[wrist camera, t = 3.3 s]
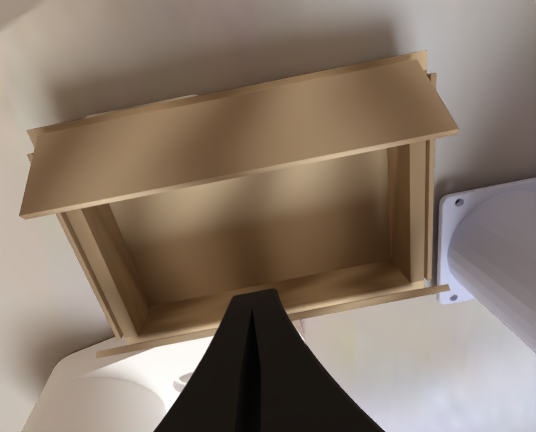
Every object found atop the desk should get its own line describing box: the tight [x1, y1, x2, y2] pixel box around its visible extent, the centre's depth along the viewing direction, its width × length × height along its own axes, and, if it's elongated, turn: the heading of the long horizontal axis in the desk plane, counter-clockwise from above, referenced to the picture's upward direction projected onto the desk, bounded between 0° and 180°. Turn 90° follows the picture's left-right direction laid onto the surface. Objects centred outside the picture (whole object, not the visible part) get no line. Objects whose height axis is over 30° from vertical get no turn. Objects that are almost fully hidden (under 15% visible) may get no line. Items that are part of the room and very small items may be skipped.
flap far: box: [96, 284, 450, 359], centre depth 16 cm, size 17×4×1 cm
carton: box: [26, 50, 436, 345], centre depth 17 cm, size 18×13×3 cm
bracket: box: [21, 320, 306, 432], centre depth 21 cm, size 20×9×7 cm, turn 113°
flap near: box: [19, 59, 459, 219], centre depth 13 cm, size 17×4×1 cm
